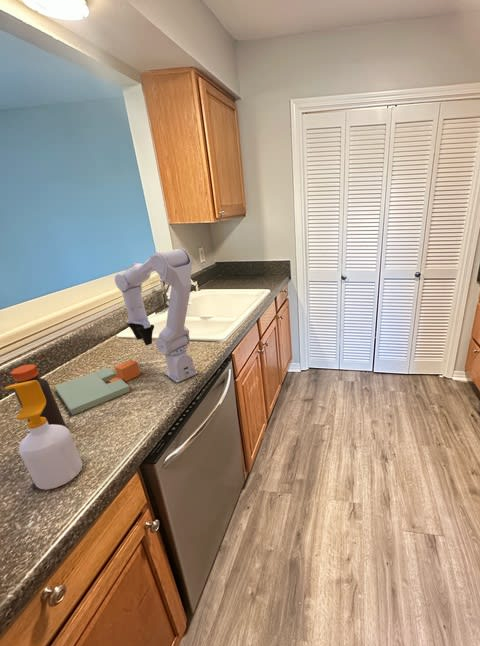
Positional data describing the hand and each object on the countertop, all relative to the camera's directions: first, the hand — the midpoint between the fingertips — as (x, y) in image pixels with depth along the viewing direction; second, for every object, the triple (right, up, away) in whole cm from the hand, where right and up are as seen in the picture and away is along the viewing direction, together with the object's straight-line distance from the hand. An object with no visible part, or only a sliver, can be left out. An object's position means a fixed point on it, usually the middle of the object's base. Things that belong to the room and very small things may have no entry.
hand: (144, 341), depth 119 cm
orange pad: (-4, -13, -6) cm, 15 cm away
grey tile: (-11, -16, -13) cm, 23 cm away
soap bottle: (+2, -30, -45) cm, 54 cm away
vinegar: (-10, -25, -31) cm, 41 cm away
